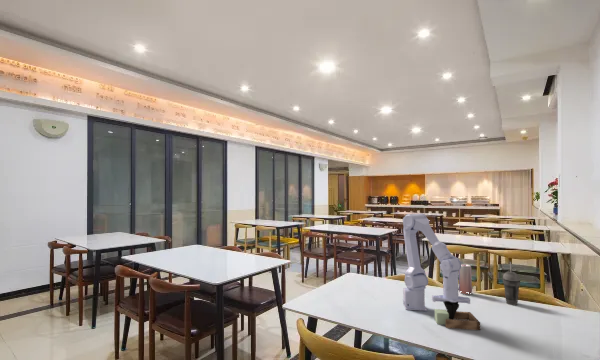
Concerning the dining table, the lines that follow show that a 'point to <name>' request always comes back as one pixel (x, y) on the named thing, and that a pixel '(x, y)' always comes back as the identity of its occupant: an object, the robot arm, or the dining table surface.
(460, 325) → the frame
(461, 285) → the beverage can
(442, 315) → the cube
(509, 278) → the beverage cup
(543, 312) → the dining table surface
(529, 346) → the dining table surface
